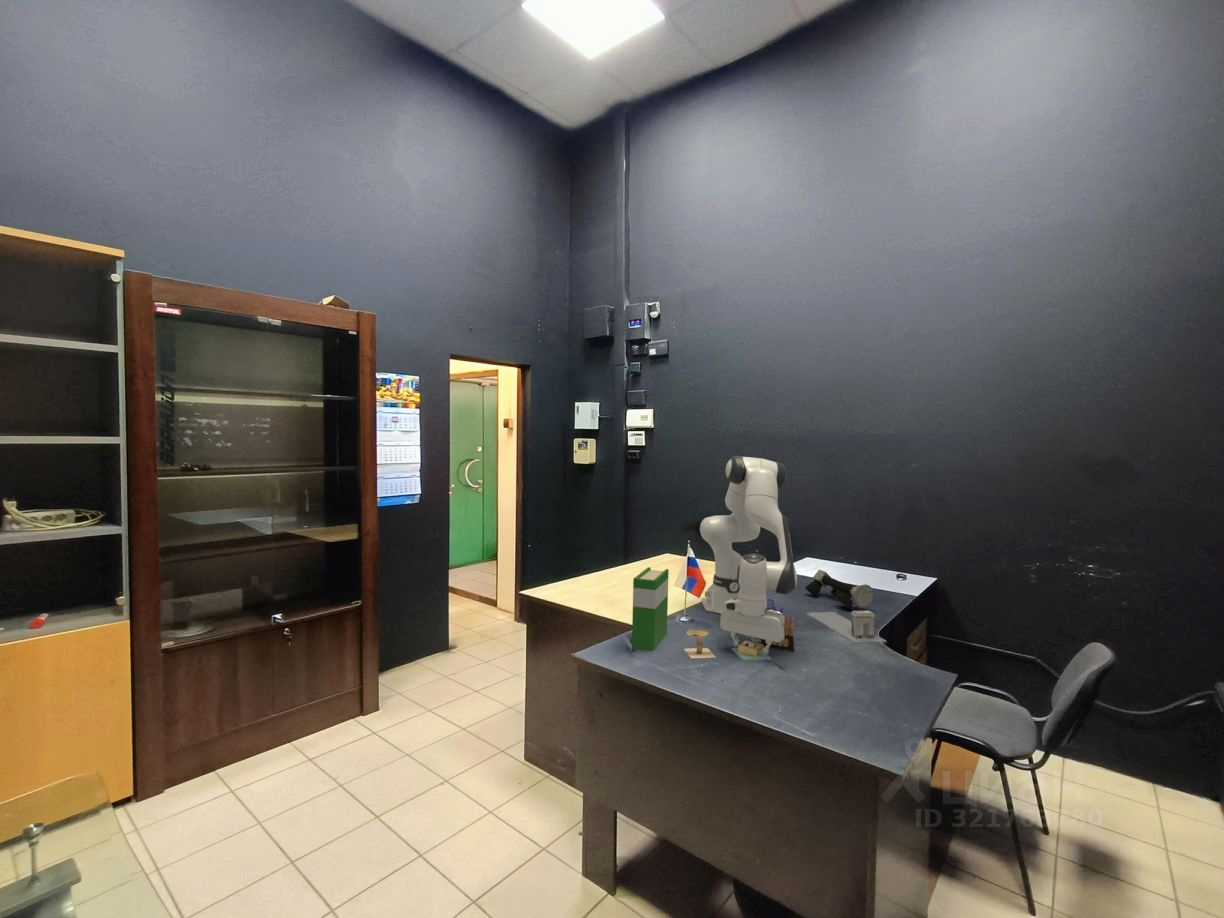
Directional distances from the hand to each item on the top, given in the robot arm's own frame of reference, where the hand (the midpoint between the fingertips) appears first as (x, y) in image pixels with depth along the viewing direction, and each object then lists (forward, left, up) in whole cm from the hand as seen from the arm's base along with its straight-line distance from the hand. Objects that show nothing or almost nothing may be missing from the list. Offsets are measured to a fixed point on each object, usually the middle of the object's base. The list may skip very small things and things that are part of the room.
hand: (750, 649), depth 176 cm
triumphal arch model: (-26, +48, -4) cm, 55 cm away
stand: (-3, -16, -3) cm, 17 cm away
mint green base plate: (0, 0, -3) cm, 3 cm away
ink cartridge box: (-14, +12, -3) cm, 19 cm away
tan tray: (0, 0, -1) cm, 1 cm away
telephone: (-55, +65, -4) cm, 85 cm away
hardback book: (-16, -29, -3) cm, 33 cm away
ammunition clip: (-8, +13, -3) cm, 16 cm away
